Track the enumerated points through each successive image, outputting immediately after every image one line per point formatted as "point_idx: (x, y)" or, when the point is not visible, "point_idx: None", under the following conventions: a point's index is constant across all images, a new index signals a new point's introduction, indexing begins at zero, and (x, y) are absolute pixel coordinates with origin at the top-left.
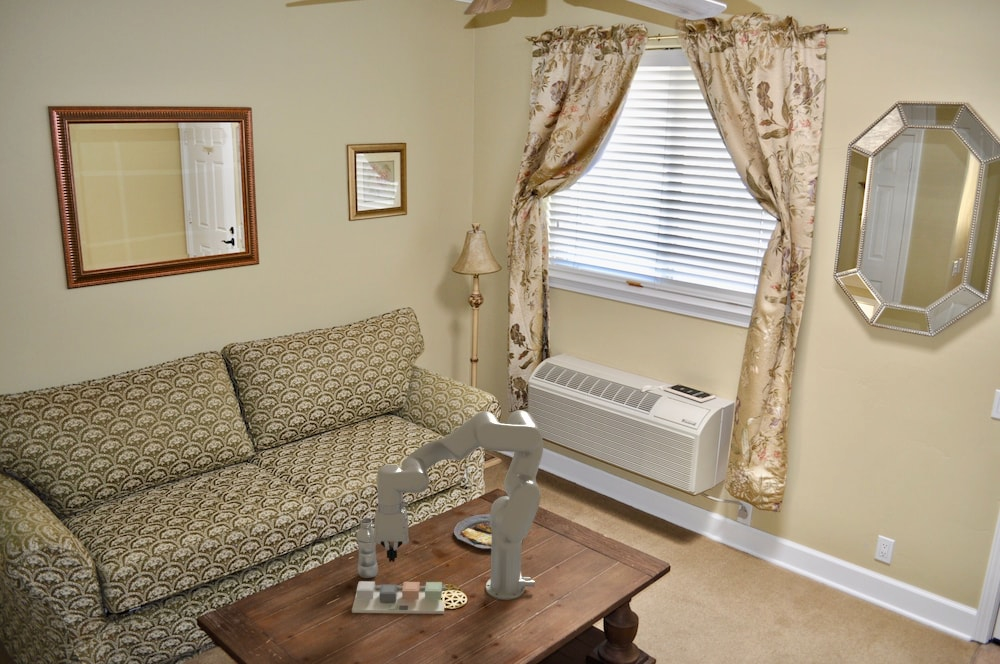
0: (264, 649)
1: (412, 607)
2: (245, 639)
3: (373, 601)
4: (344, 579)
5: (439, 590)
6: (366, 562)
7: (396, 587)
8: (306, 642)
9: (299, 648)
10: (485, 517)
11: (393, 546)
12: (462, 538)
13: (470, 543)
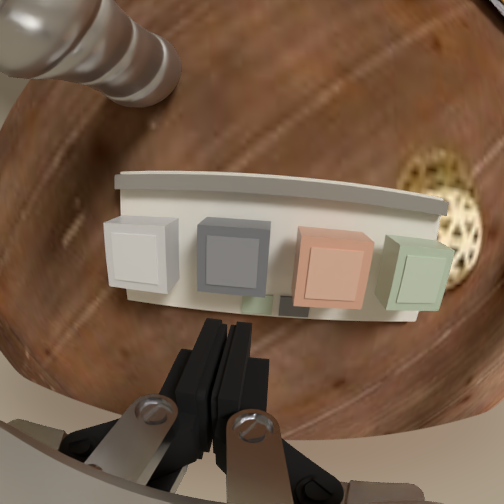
0: (34, 373)
1: None
2: (2, 341)
3: (184, 261)
4: (83, 112)
5: (434, 305)
6: (112, 91)
7: (266, 253)
8: (80, 377)
9: (77, 388)
10: None
11: (224, 467)
12: None
13: None
